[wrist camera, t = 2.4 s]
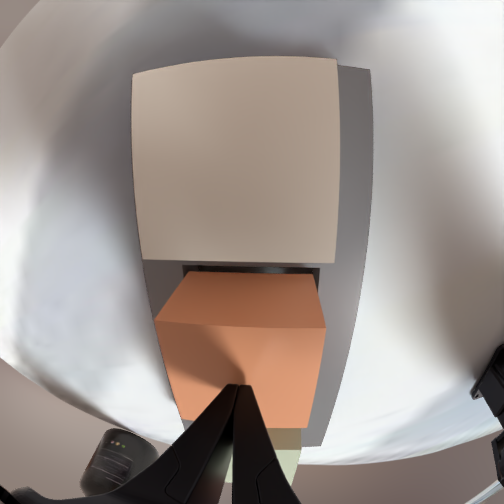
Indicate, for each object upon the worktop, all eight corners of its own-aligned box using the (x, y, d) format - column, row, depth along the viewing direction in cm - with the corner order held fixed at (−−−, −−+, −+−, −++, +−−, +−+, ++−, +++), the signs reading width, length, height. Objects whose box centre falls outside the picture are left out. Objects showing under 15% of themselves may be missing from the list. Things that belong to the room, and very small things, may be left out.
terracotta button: (312, 274, 12) (326, 328, 8) (302, 367, 13) (306, 428, 10) (188, 271, 12) (153, 320, 8) (201, 362, 14) (181, 418, 10)
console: (354, 83, 11) (369, 69, 8) (318, 421, 18) (320, 445, 16) (154, 90, 12) (131, 79, 9) (195, 415, 19) (188, 438, 17)
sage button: (299, 392, 14) (301, 449, 10) (291, 438, 16) (291, 485, 12) (206, 387, 15) (189, 441, 11) (215, 434, 16) (205, 479, 13)
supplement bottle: (166, 463, 24) (140, 541, 13) (116, 448, 25) (84, 517, 13) (153, 436, 22) (117, 529, 11) (98, 419, 22) (55, 498, 11)
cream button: (316, 92, 9) (336, 59, 5) (315, 226, 11) (334, 263, 7) (179, 97, 10) (132, 74, 6) (184, 225, 11) (142, 259, 8)
